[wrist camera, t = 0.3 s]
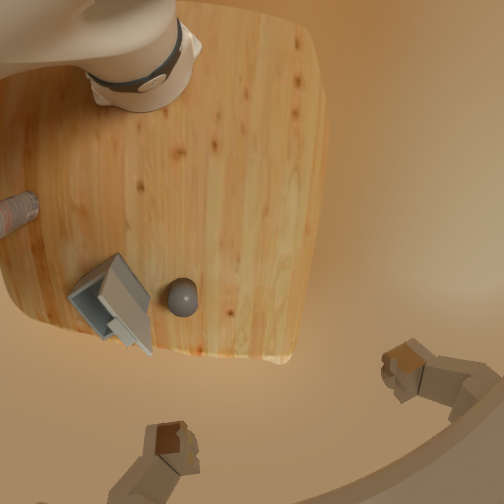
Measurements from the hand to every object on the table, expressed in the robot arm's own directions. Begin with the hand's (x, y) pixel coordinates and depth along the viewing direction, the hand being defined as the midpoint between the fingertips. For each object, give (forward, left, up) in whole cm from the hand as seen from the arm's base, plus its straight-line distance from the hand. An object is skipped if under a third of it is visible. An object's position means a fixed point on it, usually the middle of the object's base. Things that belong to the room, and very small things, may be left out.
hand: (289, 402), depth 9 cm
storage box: (+4, -23, -38) cm, 45 cm away
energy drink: (-18, -29, -38) cm, 51 cm away
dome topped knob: (+11, -12, -38) cm, 41 cm away
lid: (+4, -18, -25) cm, 31 cm away
